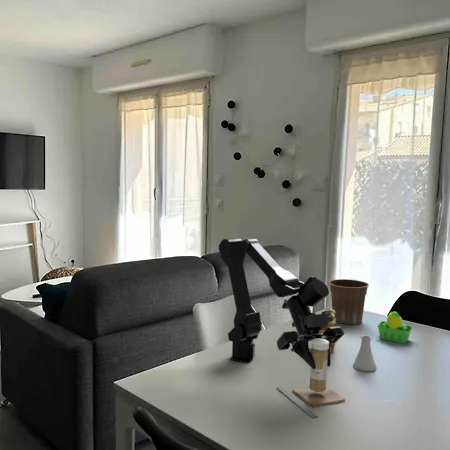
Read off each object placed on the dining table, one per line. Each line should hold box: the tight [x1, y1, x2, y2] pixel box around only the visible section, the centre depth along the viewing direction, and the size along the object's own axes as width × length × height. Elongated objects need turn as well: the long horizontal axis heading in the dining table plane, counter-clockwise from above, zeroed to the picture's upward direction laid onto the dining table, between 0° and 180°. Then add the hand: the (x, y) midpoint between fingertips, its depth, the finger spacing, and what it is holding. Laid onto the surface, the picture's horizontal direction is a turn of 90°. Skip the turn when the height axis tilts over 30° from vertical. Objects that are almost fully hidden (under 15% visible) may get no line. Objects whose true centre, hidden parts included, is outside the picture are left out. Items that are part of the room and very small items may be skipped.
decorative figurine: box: [319, 306, 337, 354], centre depth 165 cm, size 10×8×15 cm
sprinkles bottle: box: [308, 338, 329, 392], centre depth 129 cm, size 5×5×14 cm
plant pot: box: [328, 278, 370, 325], centre depth 202 cm, size 16×16×16 cm
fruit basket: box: [377, 311, 413, 344], centre depth 179 cm, size 11×9×11 cm
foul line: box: [276, 386, 319, 419], centre depth 126 cm, size 18×2×1 cm, turn 23°
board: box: [292, 385, 346, 408], centre depth 129 cm, size 10×10×1 cm
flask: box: [352, 334, 377, 372], centre depth 150 cm, size 7×7×10 cm
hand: (321, 367), depth 127 cm, fingers closed on sprinkles bottle, 4 cm apart
